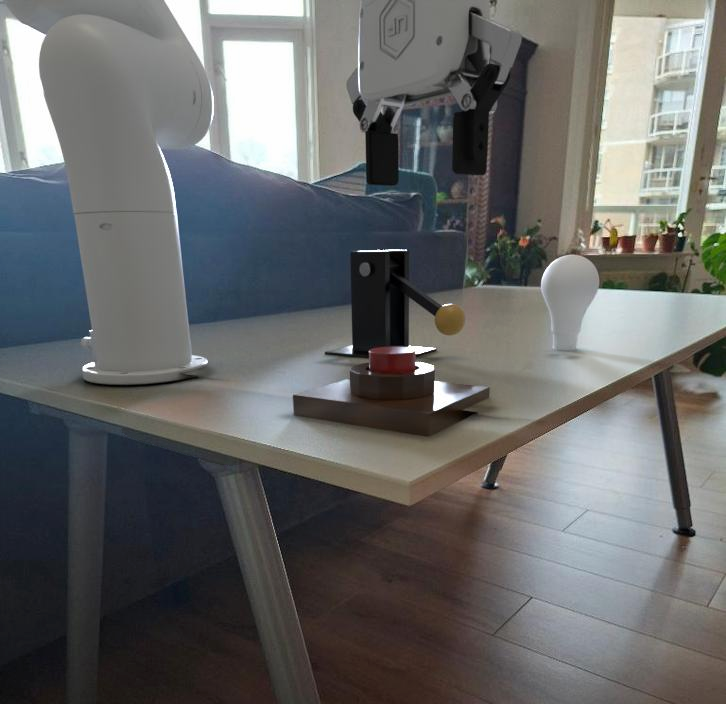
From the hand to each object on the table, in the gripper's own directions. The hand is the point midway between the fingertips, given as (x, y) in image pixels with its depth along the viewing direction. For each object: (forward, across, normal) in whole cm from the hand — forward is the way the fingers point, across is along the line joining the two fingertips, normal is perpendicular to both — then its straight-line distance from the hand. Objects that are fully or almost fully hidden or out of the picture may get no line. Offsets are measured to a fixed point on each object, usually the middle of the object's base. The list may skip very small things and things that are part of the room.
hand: (423, 180), depth 53 cm
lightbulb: (+18, -2, +25) cm, 31 cm away
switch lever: (+11, -12, +10) cm, 19 cm away
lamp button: (+14, +3, -7) cm, 16 cm away
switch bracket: (+17, -15, +9) cm, 25 cm away
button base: (+17, +3, -7) cm, 19 cm away
